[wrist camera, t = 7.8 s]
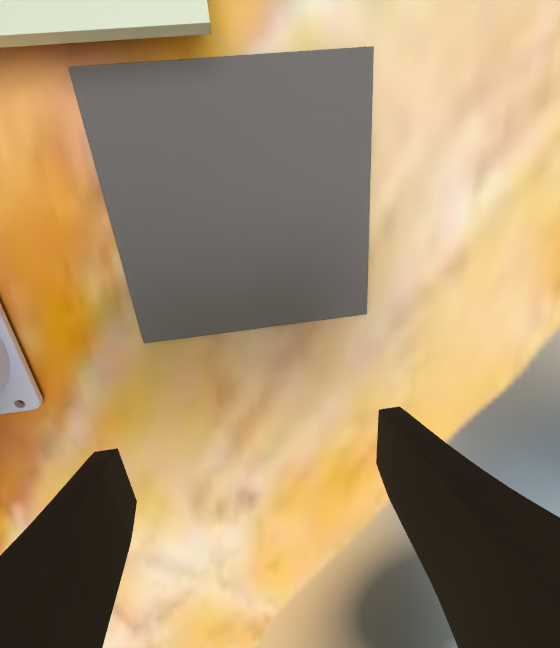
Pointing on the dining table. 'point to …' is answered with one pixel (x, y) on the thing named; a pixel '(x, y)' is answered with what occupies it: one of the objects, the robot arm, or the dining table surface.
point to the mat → (235, 185)
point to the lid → (98, 20)
